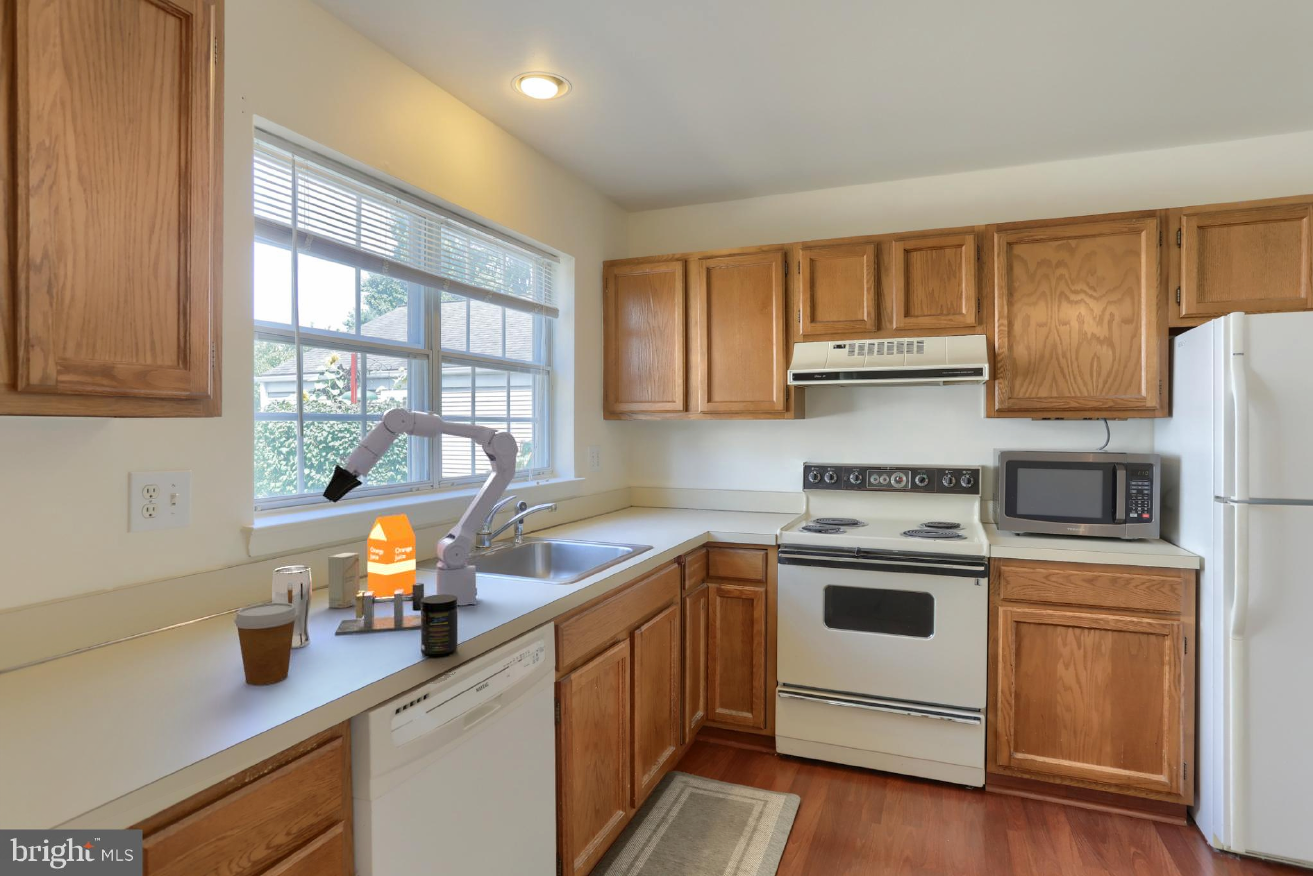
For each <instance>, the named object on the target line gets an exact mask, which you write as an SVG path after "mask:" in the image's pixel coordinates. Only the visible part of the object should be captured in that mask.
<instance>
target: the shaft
mask: <svg viewBox="0 0 1313 876" xmlns="http://www.w3.org/2000/svg"><path fill="white" fill-rule="evenodd" d="M424 597H425V583H422V582H417V583H416V582H415V584H413V585H412V593H411V595H403V596H402V602H403V603H405V602H406V603H407V602H411V603H412V611H415V612H417V611H418V612H419V611H420V612H421V599H422V598H424ZM388 603H389V604H390V603H393V604H394V597H382V598H380V597H374V598H373V604H374V605H375V604H377V605H378V604H388ZM363 604H364V599H363ZM351 606H356V599H351Z"/></svg>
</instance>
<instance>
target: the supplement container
mask: <svg viewBox="0 0 1313 876" xmlns="http://www.w3.org/2000/svg"><path fill="white" fill-rule="evenodd" d="M458 608H459V607H458V597H457V596H455V595H448V594H441V595H437V594H434V595H432V594H431V595H428V596H427V595H426V596H424V598H422V599H421V611H420V615H421V629H420V647H421V649H420V650H421V651H420V652H421V654H422V656H424V657H425V658H429V659H441V658H446V657H450V656H452V655H454V654H456V652H457V651H458V648H459V647H458V646H459V645H458V643H459V642H458V638H459V635H458V633H459V631H458V630H459V629H458V625H459V624H458Z"/></svg>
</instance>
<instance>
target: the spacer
mask: <svg viewBox="0 0 1313 876" xmlns="http://www.w3.org/2000/svg"><path fill="white" fill-rule="evenodd" d="M365 593H366V590H360V591H359V592H358V595H356V605H355V619H363V618H364V604H363V599H364V594H365Z"/></svg>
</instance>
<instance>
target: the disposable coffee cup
mask: <svg viewBox="0 0 1313 876" xmlns="http://www.w3.org/2000/svg"><path fill="white" fill-rule="evenodd" d="M297 615H298V612H297V611H296V609H295V606H294V605H293V604H290V603H273V602H269V603H267V602H266V603H259V604H254V605H250V606H246V607H243V608H241V609H239V610H237V612H236V616H235V618H234V620H233V622H234V624H235V626H236V627H237V632H238V633H237V634H238V640H239V646H240V651H241V652H240V654H241V657H242V665H243V670H244V677H245V683H246V684H247V685H251V686H265V685H271V684H275V683H279V682H281V681H284V680H285V679H287V678H288V677H289V670H290V669H289V667H290V661H291V655H292V649H291V647H292V639H293V631H294V622H295V619H296V616H297Z"/></svg>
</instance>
